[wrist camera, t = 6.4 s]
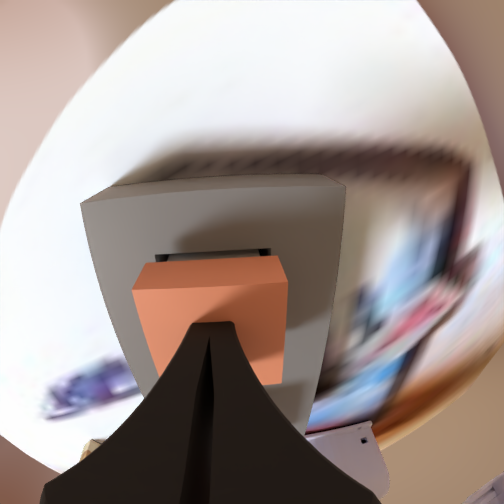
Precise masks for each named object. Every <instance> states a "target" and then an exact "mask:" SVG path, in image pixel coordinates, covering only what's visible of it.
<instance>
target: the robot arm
mask: <svg viewBox="0 0 504 504" xmlns="http://www.w3.org/2000/svg"><path fill="white" fill-rule="evenodd" d="M371 426H372V421H366V422H363V423H359V424H355V425H351V426H347V427H343V428H339V429H334V430H330V431H325V432H320V433H314V434H309V435H304V436H303V435H302V434H301V433H300V432H299V431H298V430H297V429H296V428H295V427H294V426H293V425H292V424H291V423H290V421H289V420H288V419H287V418H286V417H285V416H284V414H283V413H282V412H281V411H280V409H279V408H278V407H277V406H276V404H275V403H274V402H273V400H272V399H271V397H270V396H269V395H268V393H267V392H266V390H265V389H264V387H263V386H262V384H261V382H260V381H259V379H258V378H257V376H256V374H255V373H254V371H253V369H252V367H251V365H250V363H249V361H248V359H247V358H246V356H245V353H244V351H243V349H242V347H241V344H240V342H239V339H238V336H237V333H236V329H235V324H234V323H233V322H232V321H222V322H200V323H192V324H191V325H190V326H189V328H188V330H187V332H186V334H185V336H184V338H183V340H182V342H181V344H180V345H179V347H178V349H177V351H176V353H175V354H174V356H173V357H172V359H171V361H170V362H169V364H168V366H167V367H166V369H165V370H164V372H163V373H162V375H161V376H160V378H159V379H158V381H157V382H156V383H155V385H154V386H153V388H152V389H151V390H150V392H149V393H148V394H147V396H146V397H145V398H144V400H143V401H142V402H141V403H140V405H139V406H138V407H137V408H136V409H135V410H134V412H133V413H132V414H131V415H130V416H129V417H128V418H127V419H126V421H125V422H124V423H123V424H122V425H121V426H120V427H119V428H118V429H117V430H116V431H115V432H114V433H113V434H112V435H111V436H110V437H109V438H108V439H107V440H105V441H104V442H103V443H102V444H101V445H100V446H98V447H97V448H96V449H95V450H94V451H92V452H91V453H90V454H89V455H88V456H86V457H85V458H84V459H83V460H81V461H80V462H79V463H77V464H76V465H75V466H73V467H72V468H70V469H68V470H67V471H65V472H64V473H62V474H61V475H59V476H58V477H56V478H54V479H53V480H51V481H49V482H48V483H46V484H45V485H44V488H43V492H42V495H41V499H40V504H381V503H380V501H379V499H381V498H383V497H385V495H386V494H387V493H388V490H389V484H390V483H389V473H388V470H387V467H386V464H385V462H384V459H383V457H382V454H381V451H380V449H379V447H378V444H377V442H376V439H375V437H374V434H373V432H372V429H371V428H370V427H371ZM462 504H504V472H502V473H501V474H500V475H498V476H496V477H495V478H493V479H492V480H491V481H489V482H488V483H486V484H485V485H484V486H483V487H481V488H480V489H479V490H477V491H476V492H474V493H473V494H472V495H470V496H469V497H468V498H467V500H466V501H464V502H463V503H462Z"/></svg>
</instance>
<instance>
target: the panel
mask: <svg viewBox="0 0 504 504" xmlns="http://www.w3.org/2000/svg"><path fill="white" fill-rule="evenodd" d="M345 193H346V186H344V185H342V184H340V183H338V182H336V181H334V180H332V179H330V178H328V177H326V176H324V175H322V174H254V175H230V176H212V177H197V178H185V179H173V180H163V181H153V182H144V183H136V184H128V185H120V186H113V187H108V188H106V189H104V190H103V191H101V192H99V193H97V194H96V195H94V196H92V197H90V198H89V199H87V200H85V201H83V202H82V203H80V206H81V211H82V217H83V222H84V227H85V231H86V236H87V240H88V245H89V249H90V253H91V257H92V261H93V264H94V268H95V272H96V275H97V279H98V282H99V285H100V289H101V292H102V295H103V298H104V301H105V304H106V307H107V310H108V313H109V316H110V319H111V322H112V325H113V327H114V330H115V333H116V335H117V338H118V340H119V343H120V345H121V348H122V350H123V353H124V355H125V358H126V360H127V362H128V365H129V367H130V369H131V371H132V374H133V376H134V378H135V380H136V382H137V384H138V387H139V389H140V391H141V393H142V395H143V397H144V398H145V397H146V396H147V394H148V393H149V392H150V390H151V389H152V388H153V386H154V385H155V383H156V382H157V381H158V379H159V375H158V372H157V370H156V367H155V364H154V361H153V358H152V356H151V353H150V350H149V347H148V344H147V341H146V338H145V335H144V332H143V328H142V325H141V322H140V319H139V315H138V312H137V308H136V305H135V301H134V297H133V294H132V288H133V286H134V284H135V282H136V280H137V278H138V276H139V275H140V273H141V271H142V269H143V267H144V265H145V263H150V262H167V260H168V258H169V255H170V254H174V253H191V252H209V251H226V250H244V249H262V256H277V255H278V257H279V260H280V262H281V265H282V267H283V270H284V273H285V275H286V278H287V280H288V296H287V314H286V331H285V345H284V359H283V372H282V383H279V384H270V385H262V386H263V387H264V389H265V390H266V392H267V393H268V395H269V396H270V397H271V399H272V400H273V402H274V403H275V404H276V406H277V407H278V408H279V409H280V411H281V412H282V413H283V414H284V416H285V417H286V418H287V419H288V420H289V421H290V423H291V424H292V425H293V426H294V427H295V428H296V429H297V430H298V431H299V432H300V433H301V434H302V435H303V436H304V435H305V431H306V428H307V424H308V420H309V417H310V413H311V409H312V405H313V401H314V397H315V393H316V389H317V384H318V380H319V375H320V371H321V366H322V362H323V357H324V352H325V347H326V342H327V336H328V331H329V325H330V320H331V314H332V308H333V301H334V295H335V288H336V281H337V274H338V266H339V258H340V249H341V240H342V230H343V219H344V207H345Z"/></svg>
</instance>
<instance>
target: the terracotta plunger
mask: <svg viewBox="0 0 504 504" xmlns="http://www.w3.org/2000/svg"><path fill="white" fill-rule="evenodd" d="M132 294H133V297H134V301H135V305H136V308H137V312H138V315H139V319H140V322H141V325H142V328H143V332H144V335H145V338H146V341H147V344H148V347H149V350H150V353H151V356H152V358H153V361H154V364H155V367H156V370H157V372H158V375H159V378H160V376H161V375H162V373H163V372H164V370H165V369H166V367H167V366H168V364H169V362H170V361H171V359H172V357H173V356H174V354H175V353H176V351H177V349H178V347H179V345H180V344H181V342H182V340H183V338H184V336H185V334H186V332H187V330H188V328H189V326H190V325H191V324H192V323H200V322H222V321H232V322H233V323H234V324H235V329H236V333H237V336H238V339H239V342H240V344H241V347H242V349H243V351H244V353H245V356H246V358H247V359H248V361H249V363H250V365H251V367H252V369H253V371H254V373H255V374H256V376H257V378H258V379H259V381H260V382H261V384H262V385H270V384H279V383H282V372H283V359H284V345H285V331H286V314H287V296H288V280H287V278H286V275H285V273H284V270H283V267H282V265H281V262H280V260H279V257H278V255H277V256H260V255H259V251H258V249H244V250H226V251H209V252H191V253H174V254H170V255H169V258H168V260H167V262H150V263H145V265H144V267H143V269H142V271H141V273H140V275H139V276H138V278H137V280H136V282H135V284H134V286H133V288H132Z"/></svg>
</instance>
